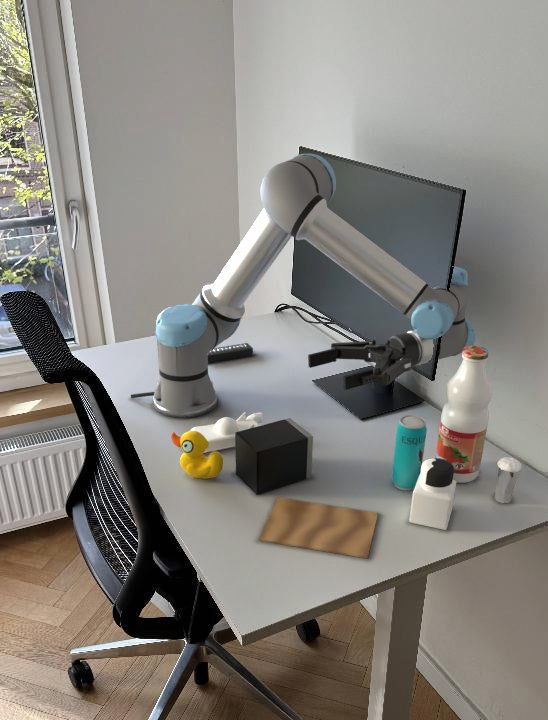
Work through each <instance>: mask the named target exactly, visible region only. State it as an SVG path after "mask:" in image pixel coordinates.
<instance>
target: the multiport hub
mask: <svg viewBox="0 0 548 720" xmlns="http://www.w3.org/2000/svg"><path fill="white" fill-rule="evenodd" d="M253 356H254V348H253V347H252V346H251V345H250V344H249V343H248V342H244V343H238V344H232V345H226V346H219V347H218V346H217V347H215V348H214V349H213V350H211V351H210V352H209V353H208V364H213V363H220V362H225V361H232V360H238V359H243V358H249V357H253Z"/></svg>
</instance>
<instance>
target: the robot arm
mask: <svg viewBox="0 0 548 720" xmlns="http://www.w3.org/2000/svg"><path fill="white" fill-rule="evenodd" d="M336 187H337V180H336V174H335V171H334V169H333V166H331V164H330V163H329V162H328V161H327V160H326V158H323V156H321V155H318V154H315V153H301V154H297V155H295V156H293V158H291V159H288V160H285V161H282V162H280V163H277V164H275V165H274V166H272V167H271V168H270V169H269V170H268V171H267V172H266V174H265V175H264V177H263V179H262V182H261V184H260V200H261V204H262V206H263V208H262V210H261V211H260V213H259V215H258V216H257V218H256V220H254V222H253V224H252V225H251V227H250V228H249V230H248V231H247V233H246V234H245V236H244V237H243V239H242V240H241V242H240V243H239V245H238V247H237V248H236V249H235V251H234V253H233V254H232V256H231V257H230V259H229V260H228V262H227V263H226V265H225V266H224V267H223V269H222V270H221V272H220V274H219V275H218V277H217V278H216V280H215V281H214V282H208V283H206V284H205V285H204V286H203V288H202V289H201V291H200V292H199V294H198V295H197V297H195V300H194V301H193V303H192V304H189V303H183V304H176V305H175V306H169V307H166V308H164V309H163V310H162V311H161V312H160V313H158V315H157V317H156V321H155V337H156V347H157V361H158V379H157V383H156V387H155V389H154V391H149V392H140V393H139V392H138V393H133V394H130V398H131V399H137V398H145V397H152V396H153V397H152V399H153V408H154V409H155V410H156V411H157V412H158V413H160V414H162V415H163V416H164V415H165V416H167V417H172V418H186V419H187V418H195V417H200V416H203V415H205V414H207V413H210V412H211V411H213V410H214V409H215V408H216V406H217V403H218V402H217V399H218V398H217V393H216V390H215V388H214V383H213V381H212V380H211V377H210V375H209V363H208V353H209V352H210V351H211V350H213V349H214V348H217V347H218V346H219V345H220V344H222V343H223V342H224V341H226V340H228V339H229V338H230V337H232V336H233V335H234V334H235V332H236V331H237V330H238V329H239V326H240V324H241V321H242V318H243V316H244V315H245V311H246V307H245V305H244V304H245V303H246V302H247V300H248V298H249V297H250V296H251V294H252V293H253V292H254V290H255V289H256V287H257V286H258V285H259V283H260V281H261V280H262V279H263V277H264V276H265V274H266V273H267V272H268V270H269V269H270V268H271V266H272V265H273V264H274V262H275V260H276V259H277V258H278V257H279V255H280V254H281V252H282V251H283V250H284V248H285V247H286V246H287V243H288V242H289V241H290V239H291V238H294V239H295V240H297V241H302V240H304V241H306V242H308V243H309V244H310V245H311V246H313V247H314V248H315V249H317V250H319V251H320V252H321V253H322V254H323V255H324V256H326V257H328V258H329V259H330V260H331V261H333V262H334V263H335V264H337V265H338V266H339V267H341V268H342V269H343V270H345V271H346V272H348V273H349V274H350V275H351V276H353V277H354V278H355V279H356V280H358V281H359V282H360V283H362V284H363V285H365V286H366V287H367V288H369V289H370V290H371V291H373V292H374V293H375V294H376V295H378V296H379V297H380V298H382V299H383V300H384V301H386V302H387V304H389V305H391V306H392V307H394V308H395V309H396V310H397V311H398V312H400V313H402V314H403V315H404V316H405V317H406V318H408V319H409V320H410V323H411V327H412V330H408V331H406V332H401V333H398V334H393V335H392V336H390V338H388V340H387V342H386V343H385V344H383V343H379V344H377V340H376V339H370V340H363V341H347V342H346V341H345V342H332V343H330V348H328V349H325V350H321V351H318V352H313V353H309V354H307V359H308V361H307V362H308V365H307V366H308V368H316V367H319V366H323V365H326V364H327V365H328V364H330V363H331V364H332V363H336V362H337V360H358V361H359V360H361V361H364V362H366V363H374V364H376V365H377V366H375V367H374V369H373V368H368V369H365V370H361V371H357V372H353V373H349V374H346V375H343V376H342V377H343V378H342V380H343V382H342V383H343V390H344V391H346V390H347V391H348V390H350V389H354V388H357V387H361V386H365V385H368V384H372V383H375V384H379V383H381V384H382V385H383V386H388V385H390V384H391V383H392V382H394V381H395V380H396V379H398V378H399V377H400V376H401V375H402V374H404V373H407V372H409V371H411V370H412V368H414V367H415V366H422V365H421V364H428V363H429V362H428V361H429V360H431V358H432V355H433V347H434V344H433V339H437V338H439V337H441V336H442V338H441V343H440V349H439V355H438V360H437V361H439V360H442V359H445V358H449V357H456V356H458V355H461V354H462V351H463V349H464V347H466V346H475V342H476V332H475V331H474V330H475V327H474V326H473V324H472V322H471V321H470V320H469V319H467V318H466V310H467V309H466V308H467V307H466V306H467V297H468V296H467V295H468V288H469V284H468V281H469V273H468V271H467V270H466V269H465V268H463V267H459V266H453V267H454V269H453V274H452V279H451V283H450V288H449V290H450V291H448V290H446V289H445V288H443V287H440V286H436V287H434V288H432V287H431V285H429V284H428V283H427V282H426V281H425V280H423V279H421V278H420V277H419V276H418V275H417V274H416V273H414V272H413V271H412V270H410V269H409V268H407V267H406V266H404V265H403V264H402V263H401V262H400V261H398V260H397V259H396V258H394V257H393V256H391V255H390V254H389V253H387V251H385V250H384V249H383V248H381V247H379V246H378V245H377V244H376V243H375V242H373V241H372V240H370V239H369V238H368V237H367V236H365V235H364V234H363V233H361V232H360V231H359V230H357V229H356V228H355V227H353V226H352V225H351V224H349V223H348V222H347V221H346V220H345V219H343V218H342V217H340V216H339V215H338V214H337V213H335V212H333V211H332V210H331V209H330V208H329V207H328V204H329V203H330V201H332V198H333V197H334V196H335V192H336V190H337V188H336Z"/></svg>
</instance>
